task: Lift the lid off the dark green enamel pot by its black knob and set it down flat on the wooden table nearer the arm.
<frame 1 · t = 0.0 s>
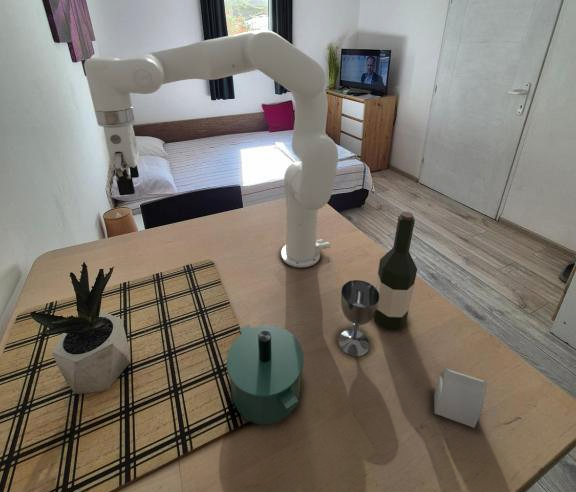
hand: (130, 185, 79), 31 cm above the table, tool pointing down, fingers open, 9 cm apart
wine glass: (353, 343, 75), on the table
lid: (265, 358, 62), point 8 cm above the table, touching pot
wine bottle: (388, 317, 82), on the table
white box: (453, 411, 62), on the table
pot: (266, 387, 66), on the table
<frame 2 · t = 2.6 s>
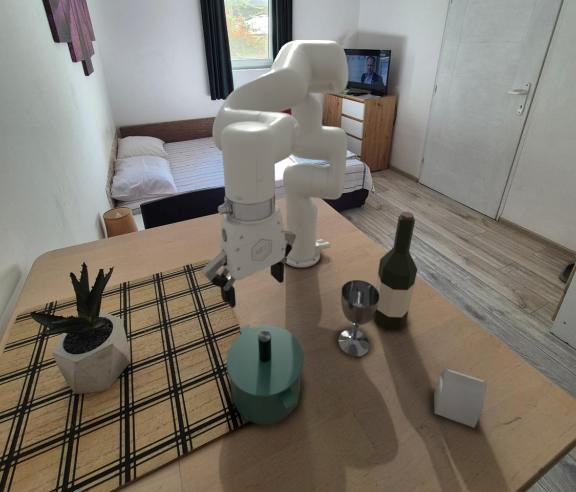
hand: (254, 289, 57), 25 cm above the table, tool pointing down, fingers open, 9 cm apart
nothing on the table moved.
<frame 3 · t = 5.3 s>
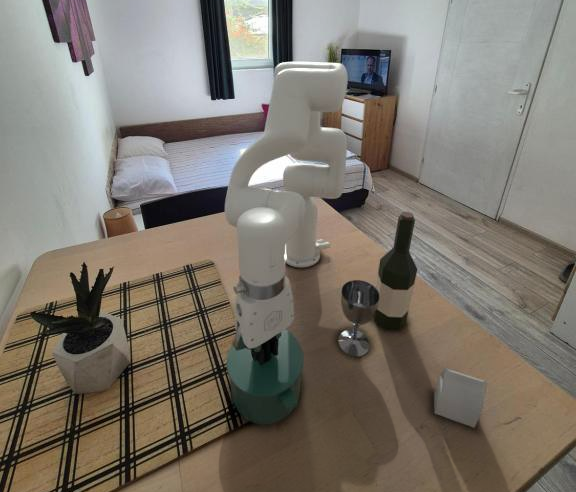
hand: (265, 354, 62), 10 cm above the table, tool pointing down, fingers closed on lid, 2 cm apart
lid: (265, 358, 62), point 9 cm above the table, touching gripper, pot
everything else where it was.
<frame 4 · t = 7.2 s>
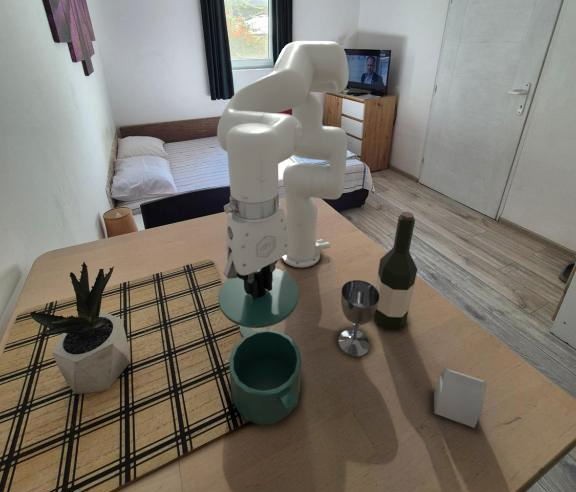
hand: (258, 289, 59), 23 cm above the table, tool pointing down, fingers closed on lid, 2 cm apart
lid: (259, 294, 60), point 21 cm above the table, touching gripper
everything else where it was.
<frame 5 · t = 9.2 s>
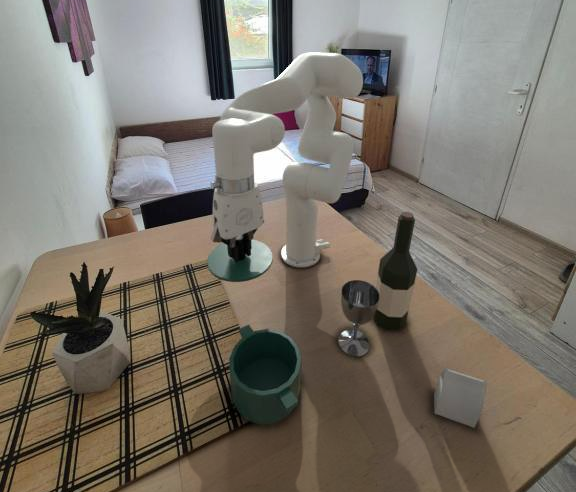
hand: (240, 255, 73), 20 cm above the table, tool pointing down, fingers closed on lid, 2 cm apart
lid: (240, 259, 73), point 19 cm above the table, touching gripper
everything else where it was.
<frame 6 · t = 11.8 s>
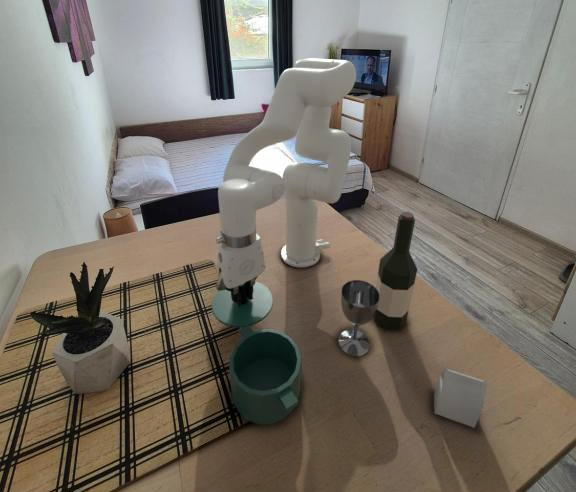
hand: (242, 298, 78), 7 cm above the table, tool pointing down, fingers closed on lid, 2 cm apart
lid: (242, 302, 78), point 6 cm above the table, touching gripper
everything else where it was.
when the fingers open (2 cm above the table, at t = 13.3 s): lid stays where it is, point 1 cm above the table.
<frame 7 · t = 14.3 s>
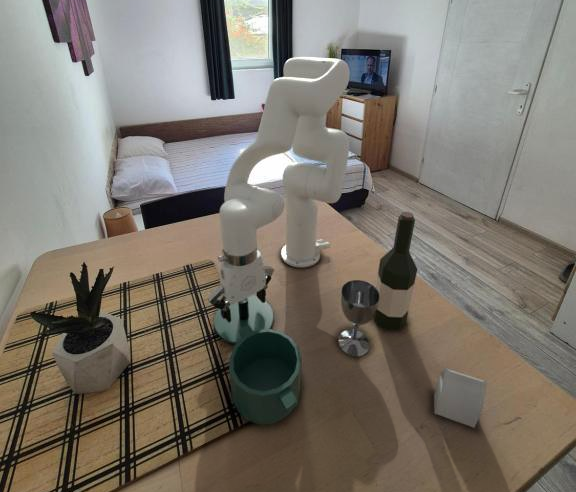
hand: (244, 308, 80), 4 cm above the table, tool pointing down, fingers open, 9 cm apart
lid: (244, 318, 81), point 1 cm above the table
everything else where it was.
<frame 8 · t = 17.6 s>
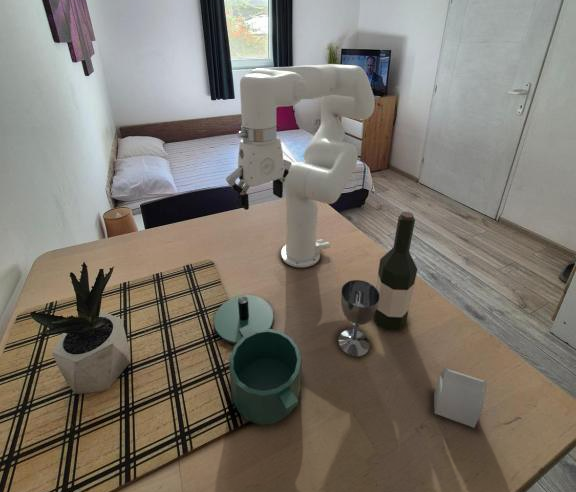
hand: (261, 201, 78), 28 cm above the table, tool pointing down, fingers open, 9 cm apart
nothing on the table moved.
at the end: lid inside the target area (0.1 cm from its centre), point 0.6 cm above the table; lid tilted 0°; the gripper is holding nothing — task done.
